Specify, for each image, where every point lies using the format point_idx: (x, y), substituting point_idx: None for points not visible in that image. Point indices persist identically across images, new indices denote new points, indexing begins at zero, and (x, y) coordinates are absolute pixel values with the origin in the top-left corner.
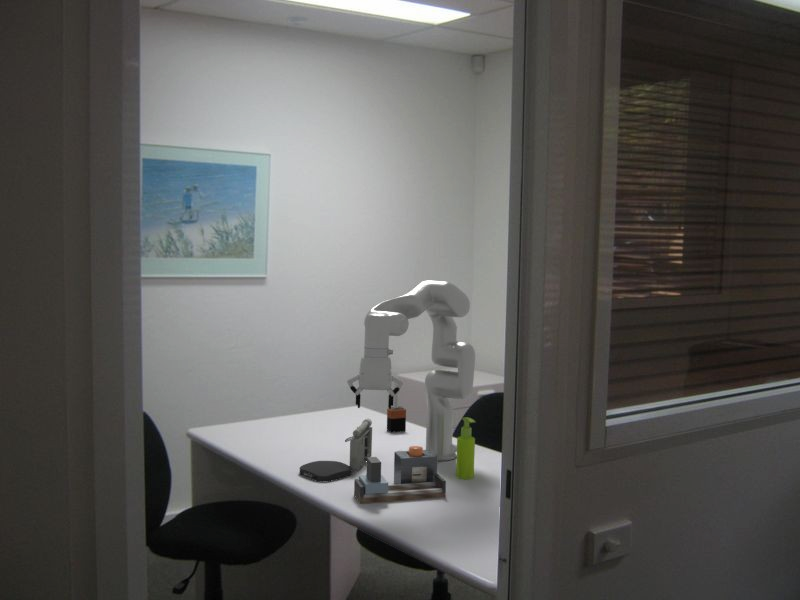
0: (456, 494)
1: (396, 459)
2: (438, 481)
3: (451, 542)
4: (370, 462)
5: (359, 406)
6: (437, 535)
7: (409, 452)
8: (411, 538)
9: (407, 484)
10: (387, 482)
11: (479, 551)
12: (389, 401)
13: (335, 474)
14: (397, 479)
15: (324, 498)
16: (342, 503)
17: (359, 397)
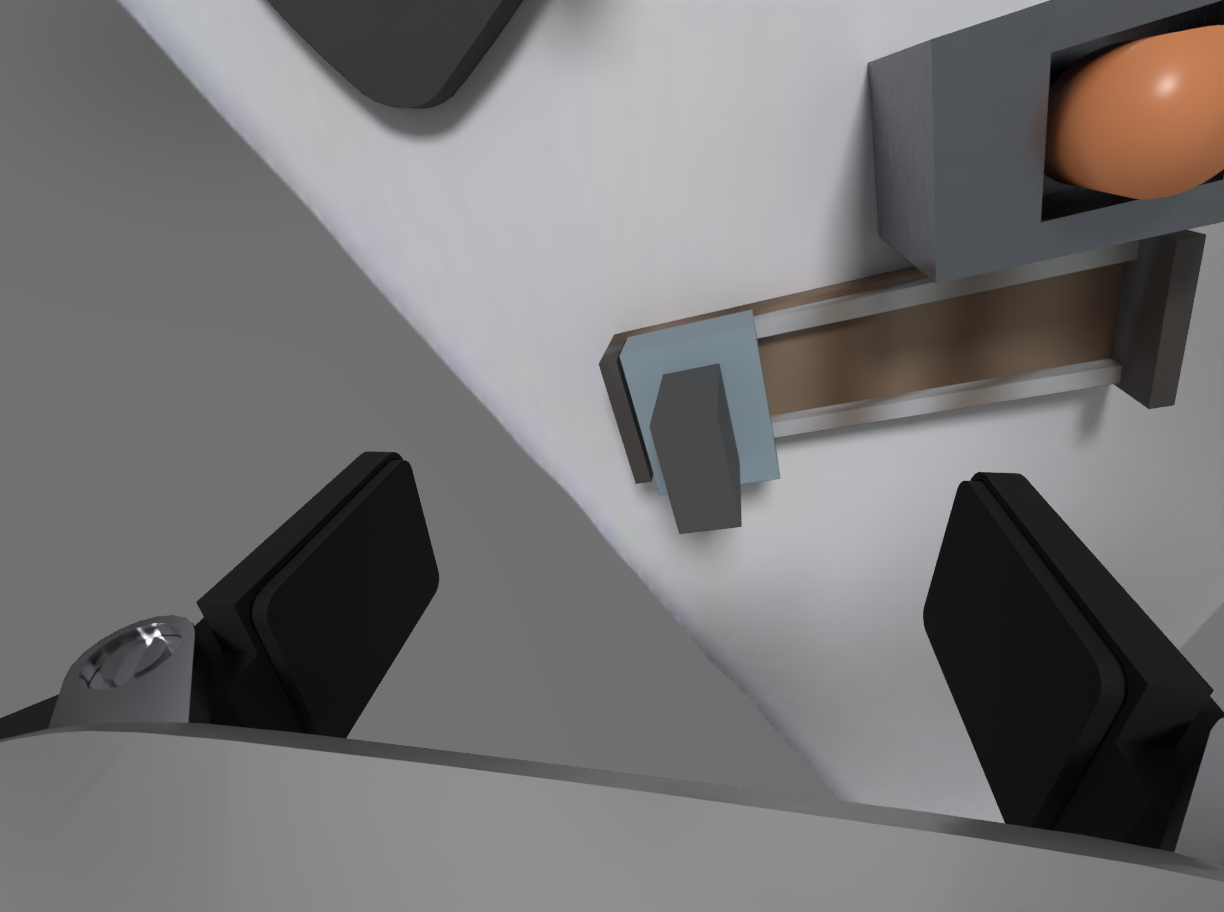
0: (1217, 318)
1: (917, 123)
2: (1144, 321)
3: (925, 750)
4: (673, 509)
5: (422, 595)
6: (896, 710)
7: (1068, 145)
8: (805, 716)
9: (920, 300)
10: (775, 474)
11: (988, 799)
12: (983, 737)
13: (468, 55)
14: (883, 161)
15: (487, 381)
16: (571, 440)
17: (335, 736)
